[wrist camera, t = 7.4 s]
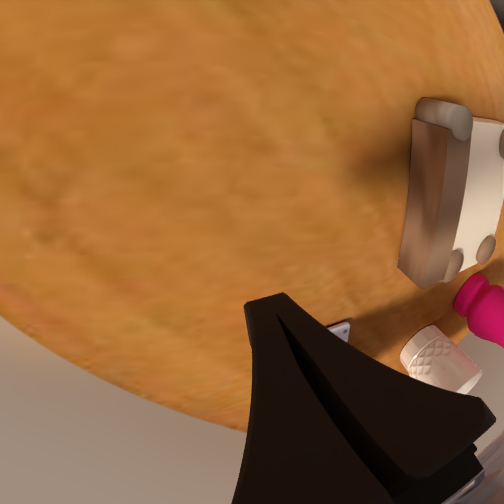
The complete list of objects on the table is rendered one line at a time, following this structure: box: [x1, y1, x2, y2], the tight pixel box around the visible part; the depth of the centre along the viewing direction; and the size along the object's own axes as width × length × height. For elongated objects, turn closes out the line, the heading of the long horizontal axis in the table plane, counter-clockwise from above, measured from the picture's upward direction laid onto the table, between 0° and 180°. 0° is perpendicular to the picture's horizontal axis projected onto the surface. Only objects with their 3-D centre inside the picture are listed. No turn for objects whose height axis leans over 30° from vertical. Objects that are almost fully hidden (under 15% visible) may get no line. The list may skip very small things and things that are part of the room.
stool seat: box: [437, 117, 504, 283], centre depth 22 cm, size 15×10×3 cm, turn 6°
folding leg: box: [397, 97, 473, 290], centre depth 19 cm, size 15×3×4 cm, turn 7°
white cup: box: [400, 325, 483, 394], centre depth 30 cm, size 8×8×10 cm
